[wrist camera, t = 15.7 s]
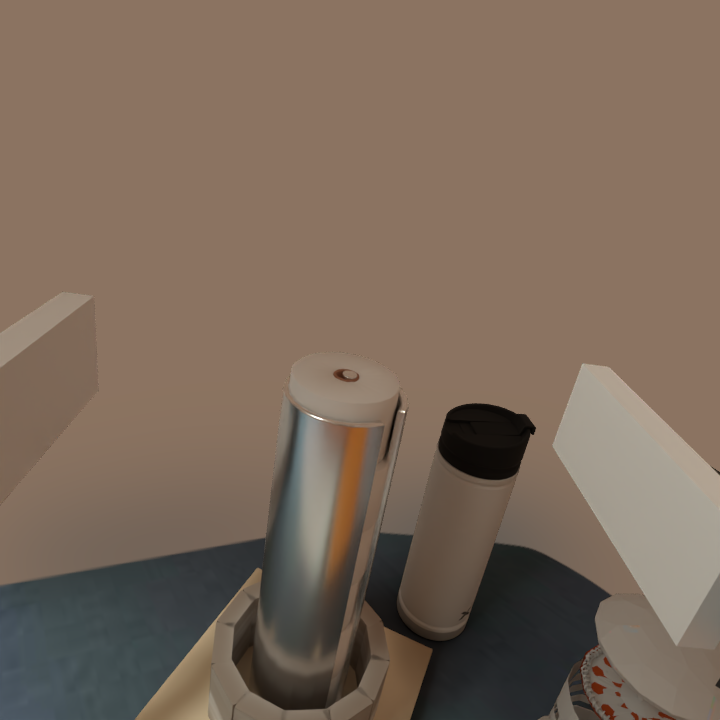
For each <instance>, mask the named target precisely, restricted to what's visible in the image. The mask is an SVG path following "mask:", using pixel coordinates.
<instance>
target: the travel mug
mask: <svg viewBox="0 0 720 720" xmlns="http://www.w3.org/2000/svg"><path fill="white" fill-rule="evenodd" d="M535 429H536V427H535V426H534V425H533V423H532V422H531V421H530V419H529V418H528V417H527V415H525V414H516V413H514V412H512V411H510V410H507V409H505V408H502V407H499V406H494V405H489V404H477V403H475V404H465V405H461V406H458V407H455V408H453V409H452V410H450V411H449V412H448V413H447V416H446V419H445V422H444V425H443V428H442V431H441V436H440V439H439V441H438V444H437V449H436V452H435V455H434V459H433V463H432V467H431V471H430V475H429V478H428V482H427V486H426V490H425V493H424V497H423V501H422V505H421V509H420V513H419V516H418V520H417V524H416V528H415V532H414V535H413V539H412V543H411V547H410V551H409V555H408V558H407V562H406V566H405V570H404V574H403V577H402V581H401V586H400V589H399V593H398V597H397V609H398V612H399V615H400V617H401V619H402V620H403V622H404V623H405V624H406V625H407V627H408V628H410V629H411V630H412V631H413V632H415V633H416V634H418V635H419V636H422V637H424V638H426V639H430V640H435V641H445V640H449V639H453V638H455V637H456V636H458V635H459V634H460V633H461V632H462V631H463V630H464V628H465V626H466V623H467V620H468V617H469V614H470V612H471V609H472V606H473V603H474V600H475V597H476V594H477V591H478V588H479V585H480V583H481V580H482V577H483V574H484V571H485V568H486V565H487V562H488V559H489V556H490V554H491V551H492V548H493V545H494V542H495V539H496V536H497V533H498V530H499V527H500V524H501V522H502V518H503V516H504V513H505V510H506V507H507V504H508V501H509V498H510V495H511V493H512V489H513V487H514V484H515V481H516V477H517V475H518V472H519V468H520V464H521V460H522V458H523V455H524V452H525V449H526V446H527V444H528V441H529V438H530V433H531V434H532V435H534V432H535Z"/></svg>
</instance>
